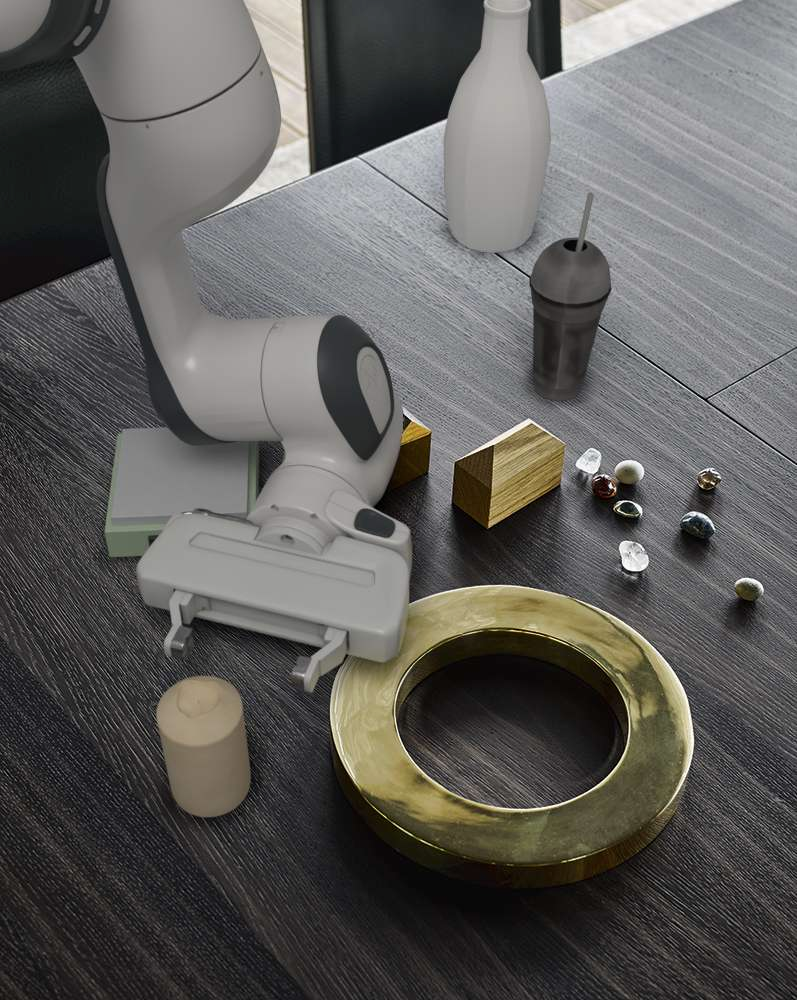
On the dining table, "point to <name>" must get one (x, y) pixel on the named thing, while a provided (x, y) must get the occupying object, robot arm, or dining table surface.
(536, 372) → the beverage cup
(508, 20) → the bottle
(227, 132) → the robot arm
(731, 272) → the dining table surface
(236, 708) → the candle
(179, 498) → the scale
